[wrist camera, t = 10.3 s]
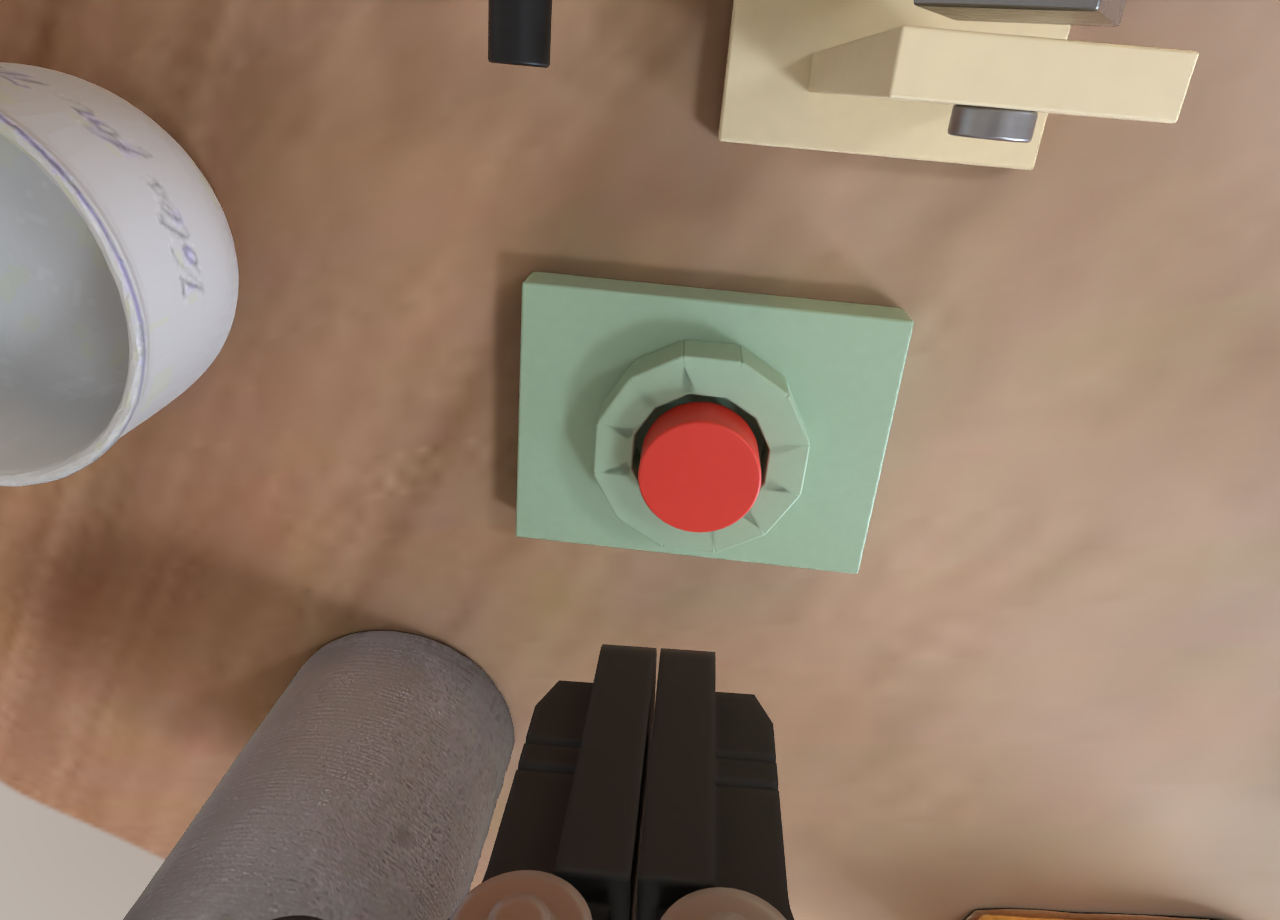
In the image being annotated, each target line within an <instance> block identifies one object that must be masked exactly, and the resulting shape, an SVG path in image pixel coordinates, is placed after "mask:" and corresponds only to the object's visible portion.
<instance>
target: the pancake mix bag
mask: <svg viewBox="0 0 1280 920" xmlns="http://www.w3.org/2000/svg"><path fill="white" fill-rule="evenodd" d="M966 920H1208V919H1190V918H1174V917H1160V916H1145V915H1122V914H1077V913H1067V912H1056V911H1046V910H1024V909H994V910H975V911H974V912H973V913H972V914H971V915H970V916H969V917H968V918H967V919H966Z"/></svg>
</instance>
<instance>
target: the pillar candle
mask: <svg viewBox="0 0 1280 920" xmlns="http://www.w3.org/2000/svg"><path fill="white" fill-rule="evenodd" d="M514 742H515V740H514V730H513V723H512V718H511V715H510V712H509V709H508V707H507V704H506V702H505V700H504V698H503V697H502V696H501V694H500V692H499V691H498V690H497V688H496V686H495V684H494V683H493V681H492V680H491V679H490V678H489V677H488V676H487V674H486V673H485V672H484V671H482V670H481V668H480V667H479V666H477V665H475V664H474V663H473V662H472V661H471V660H470V659H468V658H467V657H465V656H463V655H461V654H459V653H458V652H456V651H455V650H454V649H452V648H450V647H448V646H446V645H443V644H441V643H439V642H436V641H434V640H431V639H428V638H425V637H422V636H418V635H413V634H408V633H401V632H396V631H369V632H363V633H362V632H361V633H355V634H350V635H347V636H344V637H342V638H339V639H337V640H334V641H332V642H330V643H328V644H326V645H325V646H323V647H322V648H320V649H319V650H318V651H317V652H316V653H315V654H314V655H312V656H311V657H310V658H309V660H307V661H306V663H305V664H304V665H303V666H302V667H301V669H300V670H299V671H298V673H297V674H296V676H295V677H294V678H293V680H292V681H291V682H290V684H289V685H288V687H287V688H286V689H285V691H284V692H283V694H282V695H281V696H280V698H279V699H278V700H277V702H276V703H275V705H274V706H273V708H272V709H271V710H270V712H269V713H268V714H267V716H266V718H265V719H264V720H263V722H262V723H261V724H260V726H259V727H258V728H257V729H256V731H255V732H254V734H253V735H252V737H251V738H250V739H249V741H248V742H247V744H246V745H245V747H244V748H243V749H242V751H241V752H240V754H239V755H238V756H237V758H236V759H235V761H234V762H233V764H232V765H231V767H230V768H229V770H228V771H227V773H226V774H225V775H224V777H223V778H222V780H221V781H220V782H219V784H218V785H217V787H216V788H215V790H214V791H213V793H212V794H211V796H210V797H209V798H208V800H207V801H206V803H205V804H204V806H203V807H202V808H201V810H200V811H199V813H198V814H197V815H196V817H195V818H194V820H193V821H192V823H191V824H190V825H189V827H188V828H187V830H186V831H185V833H184V834H183V836H182V837H181V838H180V840H179V841H178V843H177V844H176V846H175V847H174V848H173V850H172V851H171V853H170V854H169V855H168V857H167V858H166V860H165V861H164V863H163V864H162V866H161V867H160V868H159V870H158V871H157V873H156V874H155V876H154V877H153V878H152V880H151V881H150V883H149V884H148V886H147V887H146V888H145V890H144V891H143V893H142V894H141V896H140V897H139V898H138V900H137V901H136V903H135V904H134V905H133V907H132V908H131V909H130V911H129V912H128V913H127V915H126V916H125V918H124V919H123V920H272V919H275V918H279V917H285V916H291V915H306V916H312V917H317V918H320V919H323V920H448V919H449V918H450V917H451V915H452V914H453V912H454V910H455V908H456V907H457V906H458V904H459V903H460V902H461V900H462V899H463V898H464V897H465V896H466V895H467V894H468V893H469V890H470V886H471V882H472V881H473V878H474V875H475V871H476V869H477V865H478V861H479V859H480V857H481V851H482V849H483V846H484V842H485V840H486V837H487V834H488V830H489V826H490V823H491V820H492V816H493V813H494V809H495V807H496V802H497V799H498V797H499V794H500V792H501V789H502V787H503V781H504V776H505V772H506V771H507V767H508V764H509V762H510V759H511V753H512V750H513V746H514Z"/></svg>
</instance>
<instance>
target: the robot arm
mask: <svg viewBox="0 0 1280 920" xmlns="http://www.w3.org/2000/svg"><path fill="white" fill-rule="evenodd" d="M656 657H657V650H656V648H647V647H633V646H619V645H604V644H603V645H602V647H601V650H600V655H599V660H598V664H597V669H596V674H595V679H594V683H585V682H572V681H558V682H557V683H556V684H555V686H554V687H553V688H552V689H551V690H550V691H549V692H548V693H547V694H546V695H545V696H544V697H543V698H542V700H541V701H540V702H539V703H538V704H537V705H536V706H535V709H534V713H533V716H532V719H531V723H530V726H529V729H528V733H527V736H526V743H524V746H523V750H522V753H521V756H520V760H519V764H518V770H516V773H515V777H514V780H513V783H512V787H511V790H510V794H509V797H508V800H507V804H506V807H505V811H504V814H503V817H502V821H501V824H500V827H499V831H498V834H497V838H496V841H495V844H494V848H493V851H492V854H491V858H490V861H489V865H488V868H487V871H486V874H485V876H484V879H483V881H482V883H481V884H479V885H478V886H477V887H475V888H474V889H473V890H471V891H470V892H469V893H468V894H467V895H466V896H465V897H464V898H463V899H462V900H461V902H460V903H459V904H458V906H457V907H456V908H455V910H454V912H453V914H452V915H451V917H450V918H449V919H448V920H794V918H793V915H792V912H791V909H790V905H789V899H788V890H787V879H786V868H785V856H784V845H783V833H782V822H781V810H780V799H779V791H778V776H777V765H776V753H775V742H774V730H773V723H772V722H771V720H770V719H769V717H768V715H767V714H766V712H765V711H764V709H763V708H762V706H761V705H760V703H759V702H758V700H757V698H756V697H755V695H751V694H737V693H724V692H715V652H707V651H692V650H678V649H664V648H661V652H660V661H659V671H658V681H657V691H656V701H655V684H656ZM654 710H655V711H654ZM272 920H323V919H320V918H317V917H312V916H306V915H291V916H285V917H279V918H275V919H272Z"/></svg>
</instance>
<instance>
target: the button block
mask: <svg viewBox="0 0 1280 920" xmlns="http://www.w3.org/2000/svg"><path fill="white" fill-rule="evenodd" d="M913 325H914V322H913V320H912V319H911V318H910V317H909V316H908V314H907V313H906V312H905V311H904V310H903V309H902V308H896V307H886V306H876V305H866V304H856V303H846V302H836V301H826V300H816V299H806V298H796V297H786V296H776V295H766V294H756V293H746V292H736V291H726V290H715V289H705V288H695V287H685V286H675V285H665V284H655V283H645V282H635V281H625V280H615V279H605V278H595V277H585V276H575V275H565V274H555V273H545V272H532V273H531V274H530V275H529V276H528V277H527V278H526V280H525V281H524V282H523V283H522V309H521V348H520V387H519V425H518V464H517V503H516V536H518V537H525V538H535V539H544V540H553V541H562V542H571V543H580V544H589V545H598V546H607V547H616V548H626V549H635V550H644V551H653V552H662V553H671V554H680V555H689V556H698V557H707V558H717V559H726V560H735V561H744V562H753V563H762V564H771V565H780V566H789V567H799V568H808V569H817V570H826V571H835V572H844V573H853V574H857V573H858V572H859V568H860V563H861V559H862V554H863V550H864V545H865V541H866V536H867V532H868V527H869V523H870V518H871V514H872V509H873V505H874V500H875V496H876V491H877V487H878V482H879V478H880V473H881V469H882V464H883V460H884V455H885V451H886V446H887V442H888V437H889V433H890V428H891V424H892V419H893V415H894V410H895V406H896V401H897V397H898V392H899V388H900V383H901V379H902V374H903V370H904V365H905V361H906V356H907V352H908V347H909V343H910V338H911V334H912V329H913ZM689 402H711V403H716V404H719V405H722V406H724V407H727V408H729V409H731V410H732V411H734V412H736V413H737V414H738V415H739V416H741V417H742V418H743V419H744V420H745V421H746V422H747V424H748V425H749V427H750V428H751V430H752V432H753V433H754V436H755V438H756V441H757V446H758V451H759V458H760V466H761V476H762V478H761V487H760V491H759V494H758V496H757V499H756V501H755V502H754V504H753V506H752V507H751V508H750V510H749V511H748V512H747V513H746V514H745V515H744V516H743V517H742V518H741V519H739V520H738V521H737V522H735V523H733V524H732V525H730V526H728V527H725V528H723V529H720V530H716V531H711V532H701V533H699V532H689V531H684V530H680V529H677V528H675V527H672V526H670V525H668V524H667V523H665V522H663V521H662V520H661V519H659V518H658V517H657V516H656V515H655V514H654V513H653V512H652V511H651V510H650V509H649V507H648V506H647V504H646V503H645V501H644V499H643V497H642V495H641V492H640V488H639V483H638V470H639V464H640V458H641V452H642V447H643V442H644V439H645V436H646V434H647V432H648V430H649V428H650V427H651V425H652V424H653V423H654V422H655V421H656V419H657V418H658V417H660V416H661V415H662V414H663V413H665V412H666V411H668V410H669V409H671V408H673V407H675V406H678V405H681V404H684V403H689Z"/></svg>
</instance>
